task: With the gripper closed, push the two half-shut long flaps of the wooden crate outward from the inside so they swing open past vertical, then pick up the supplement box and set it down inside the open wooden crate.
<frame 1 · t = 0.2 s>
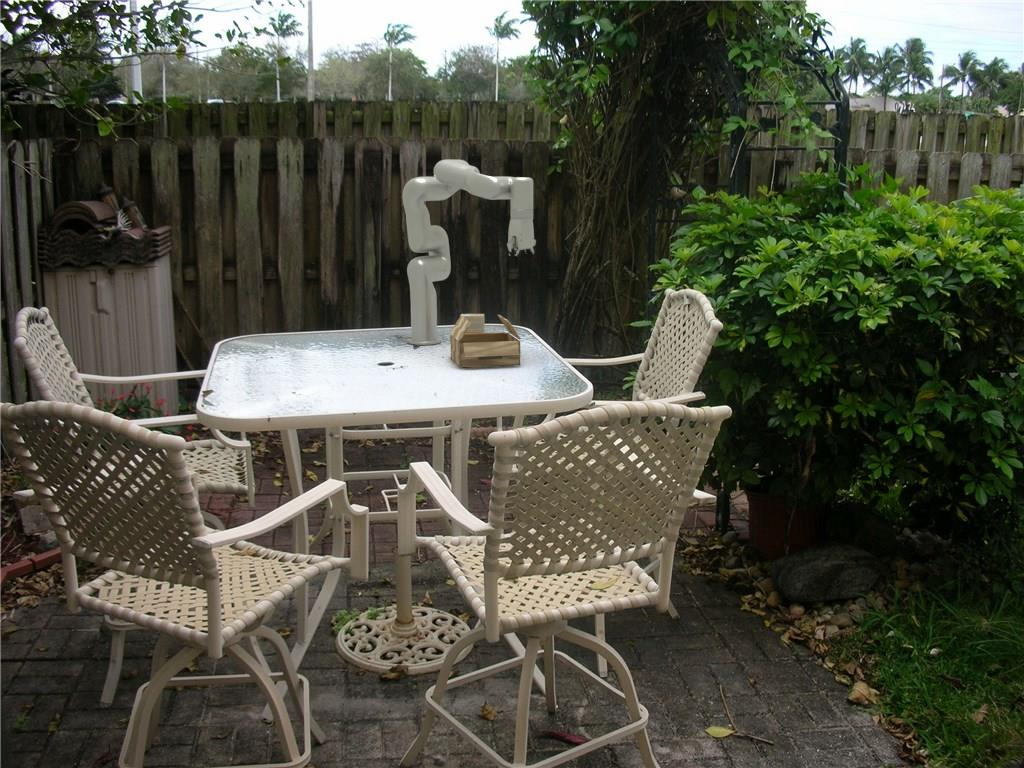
hand: (521, 266, 324), 31 cm above the table, tool pointing down, fingers open, 9 cm apart
flap 4: (508, 326, 321), point 12 cm above the table, hinge at -33.0°
flap 1: (460, 328, 318), point 12 cm above the table, hinge at -33.0°
flap 2: (478, 338, 330), point 6 cm above the table, hinge at 150.0°
wooden crate: (484, 361, 322), on the table
supplement box: (472, 351, 341), on the table
flap 3: (491, 349, 311), point 6 cm above the table, hinge at 150.0°
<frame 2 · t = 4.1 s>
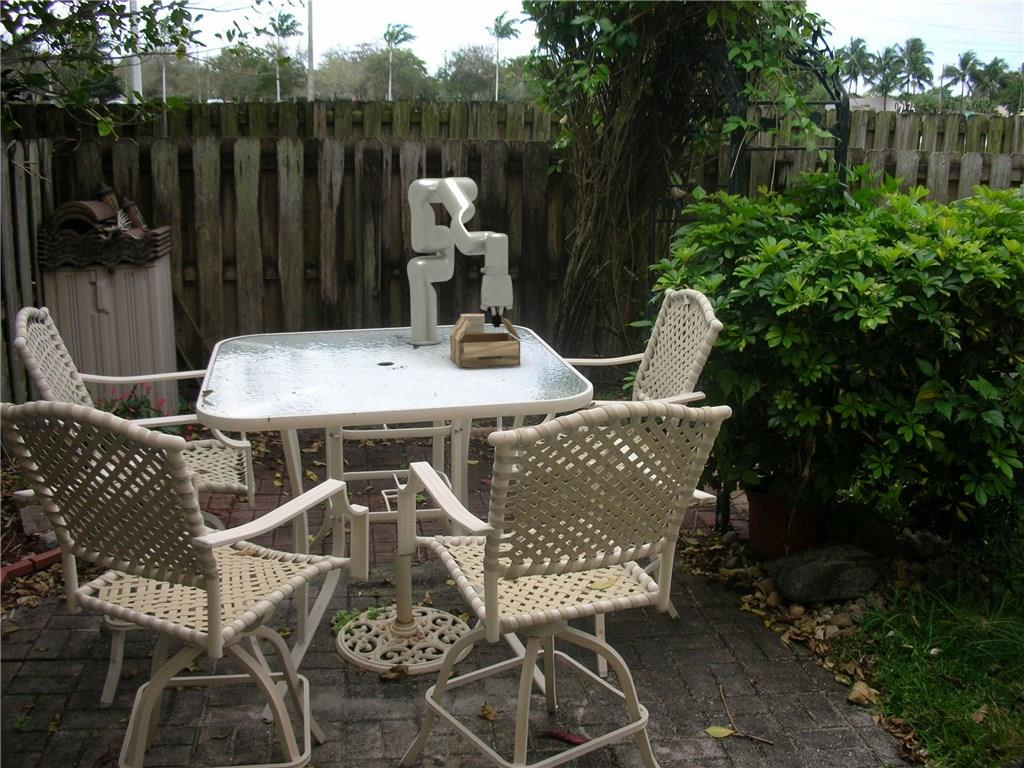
hand: (496, 326, 320), 12 cm above the table, tool pointing down, fingers closed
flap 4: (508, 326, 321), point 12 cm above the table, hinge at -32.9°, touching gripper
everything else where it was.
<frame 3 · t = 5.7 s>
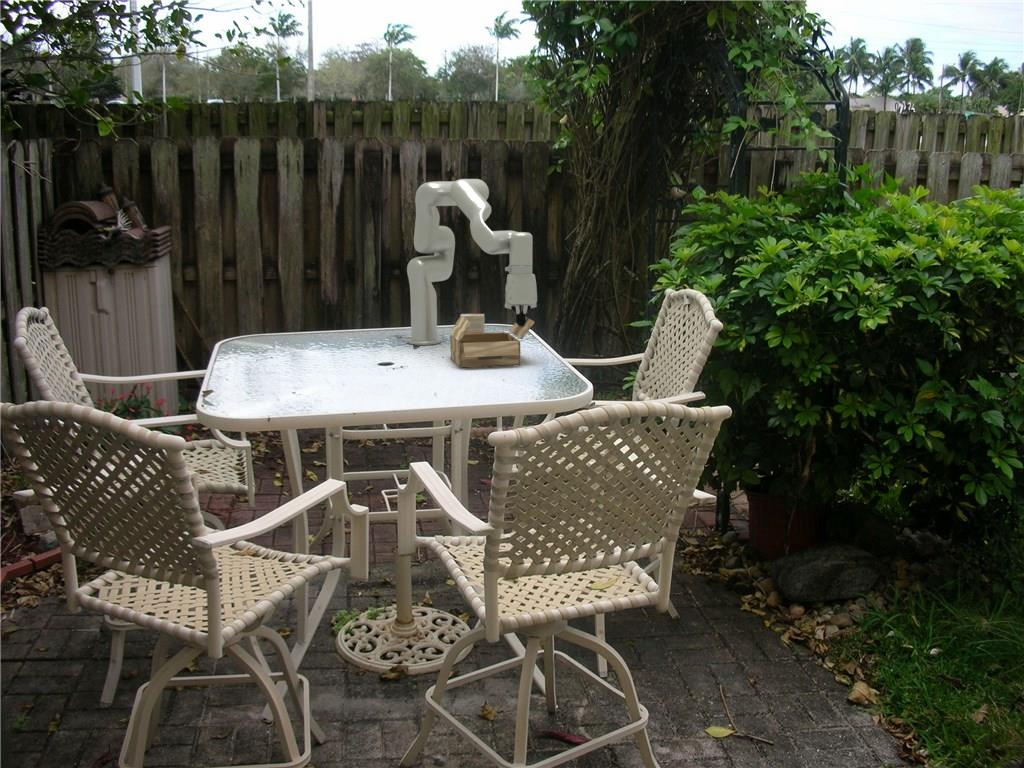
hand: (520, 325, 322), 12 cm above the table, tool pointing down, fingers closed
flap 4: (521, 326, 322), point 11 cm above the table, hinge at 37.6°, touching gripper
everything else where it was.
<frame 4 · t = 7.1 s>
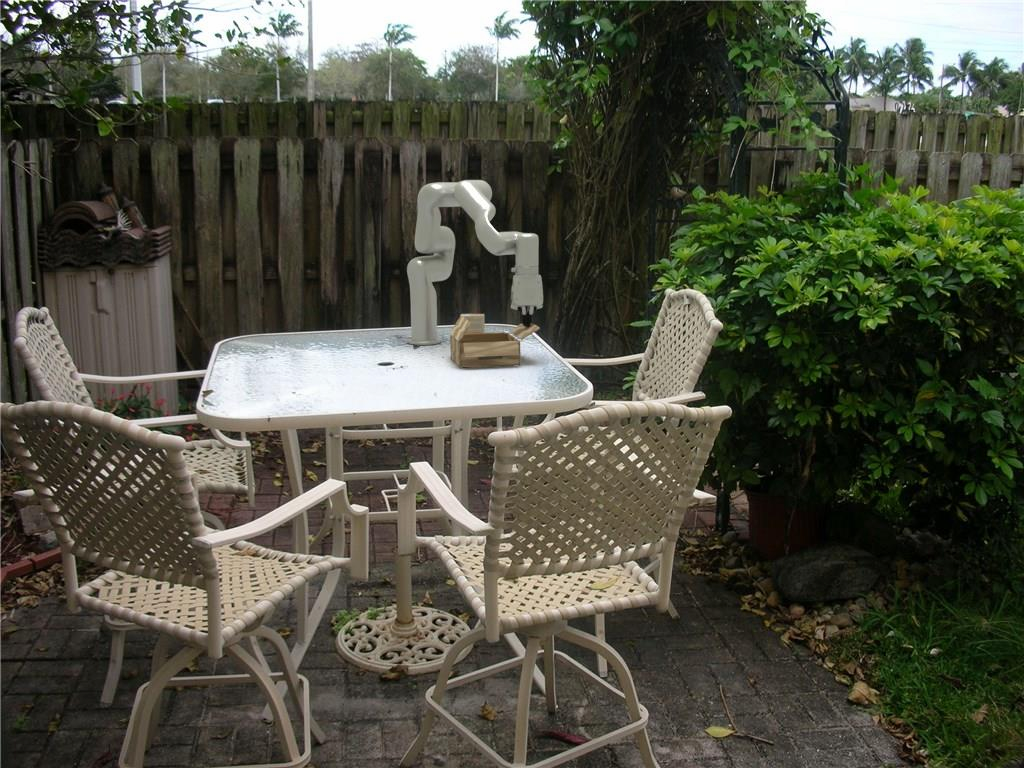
hand: (526, 326, 323), 12 cm above the table, tool pointing down, fingers closed
flap 4: (524, 329, 323), point 10 cm above the table, hinge at 59.6°
everything else where it was.
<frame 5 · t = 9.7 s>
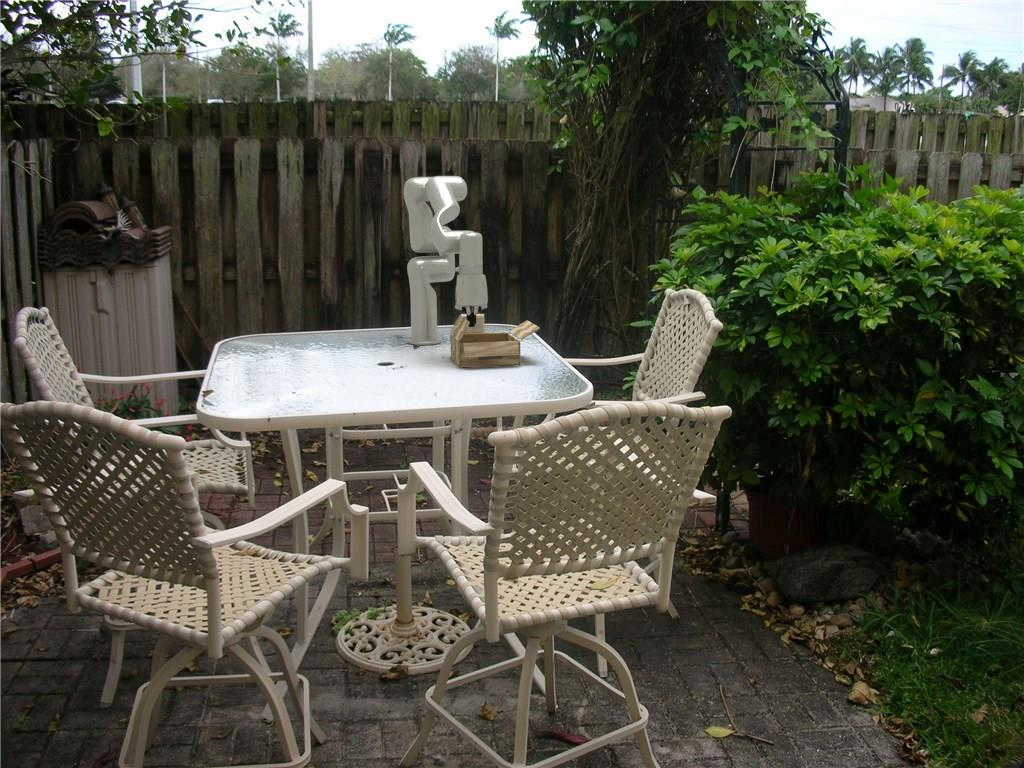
hand: (471, 326, 318), 12 cm above the table, tool pointing down, fingers closed
flap 1: (459, 328, 317), point 12 cm above the table, hinge at -29.1°, touching gripper
everything else where it was.
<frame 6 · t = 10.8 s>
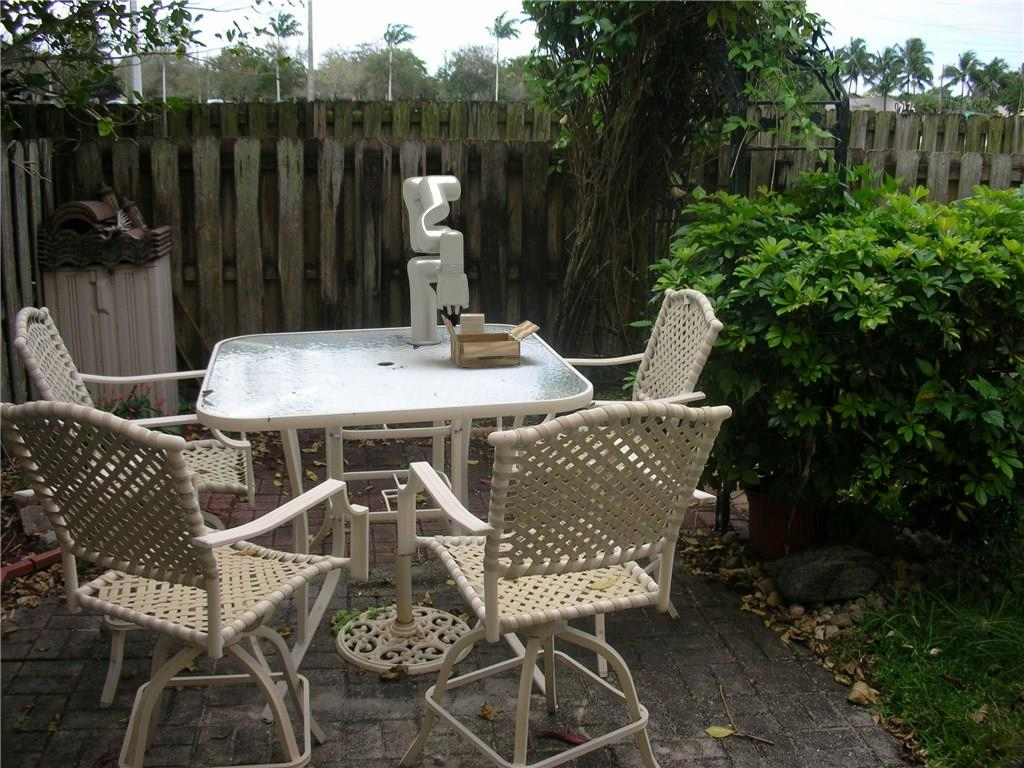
hand: (452, 326, 316), 12 cm above the table, tool pointing down, fingers closed
flap 1: (449, 327, 317), point 12 cm above the table, hinge at 22.3°, touching gripper
everything else where it was.
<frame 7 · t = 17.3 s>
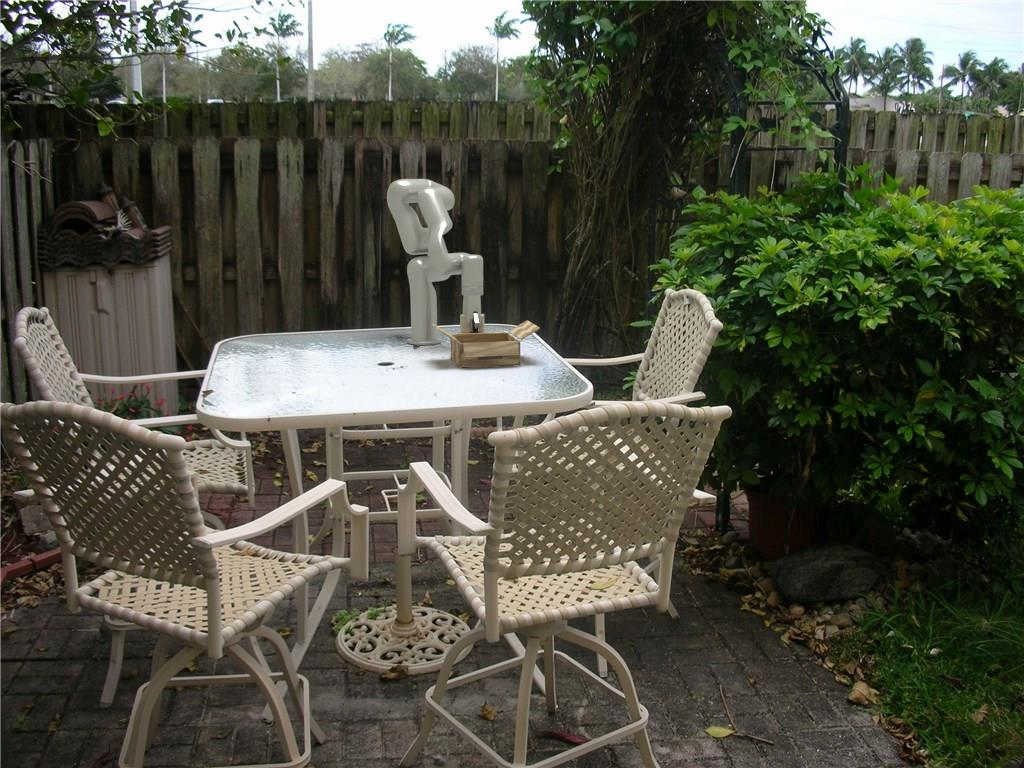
hand: (472, 341, 340), 4 cm above the table, tool pointing down, fingers closed on supplement box, 6 cm apart
flap 1: (444, 332, 317), point 10 cm above the table, hinge at 57.1°
supplement box: (472, 351, 341), on the table, touching gripper
everything else where it was.
when the fingers open (6 cm above the table, at t = 23.4 s): supplement box drops 2 cm, resting on wooden crate.
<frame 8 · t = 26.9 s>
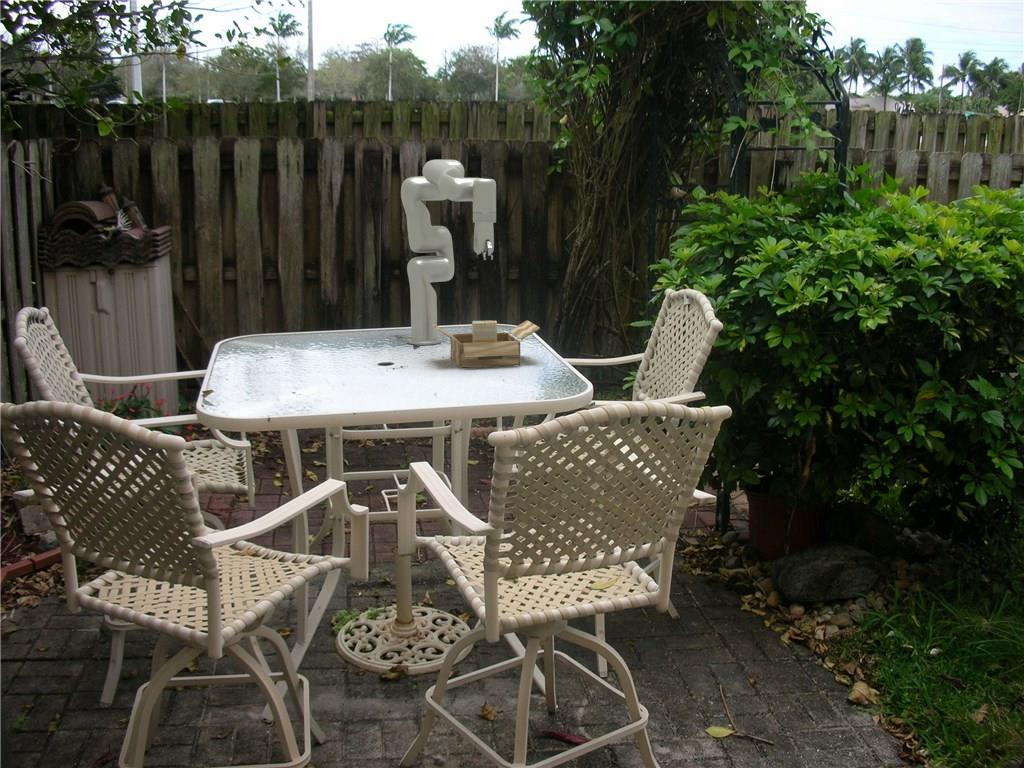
hand: (484, 270, 315), 30 cm above the table, tool pointing down, fingers open, 9 cm apart
supplement box: (484, 360, 322), resting on wooden crate
everything else where it was.
at the end: flap 4 at +60° (first picture: -33°); flap 1 at +57° (first picture: -33°); supplement box inside the target area on the wooden crate (0.4 cm from its centre), point 0.3 cm above the wooden crate's base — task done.
